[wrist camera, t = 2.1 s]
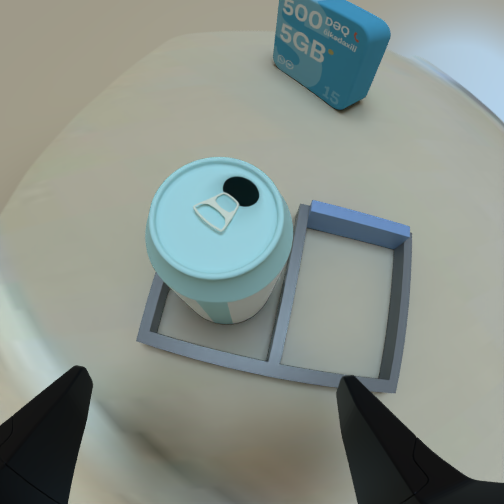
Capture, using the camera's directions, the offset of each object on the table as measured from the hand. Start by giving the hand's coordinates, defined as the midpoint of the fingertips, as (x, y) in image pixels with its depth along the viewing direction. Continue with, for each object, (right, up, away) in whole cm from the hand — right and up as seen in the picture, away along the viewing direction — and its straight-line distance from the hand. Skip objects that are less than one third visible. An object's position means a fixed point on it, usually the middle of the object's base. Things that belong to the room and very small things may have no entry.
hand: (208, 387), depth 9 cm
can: (-1, +2, +15) cm, 15 cm away
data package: (+9, +26, +23) cm, 36 cm away
